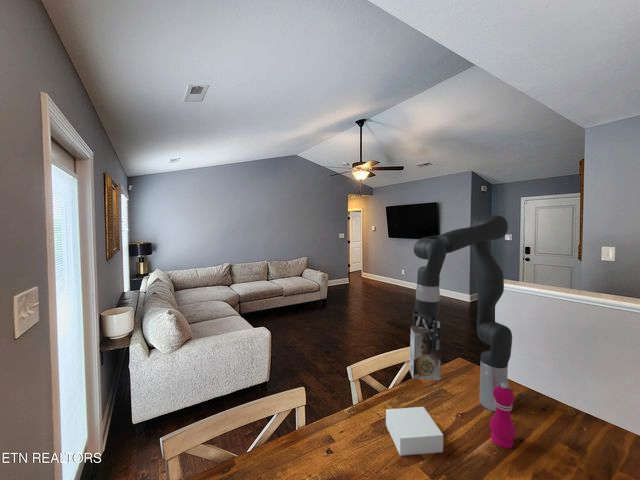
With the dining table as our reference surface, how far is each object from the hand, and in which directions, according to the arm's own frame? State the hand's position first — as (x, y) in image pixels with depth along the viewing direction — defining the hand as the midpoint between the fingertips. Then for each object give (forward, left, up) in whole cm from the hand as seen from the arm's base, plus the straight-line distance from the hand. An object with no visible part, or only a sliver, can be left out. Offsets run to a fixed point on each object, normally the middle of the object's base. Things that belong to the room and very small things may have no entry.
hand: (425, 345), depth 99 cm
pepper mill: (-23, +10, -31) cm, 40 cm away
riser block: (+5, +2, -31) cm, 32 cm away
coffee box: (0, 0, -11) cm, 11 cm away
